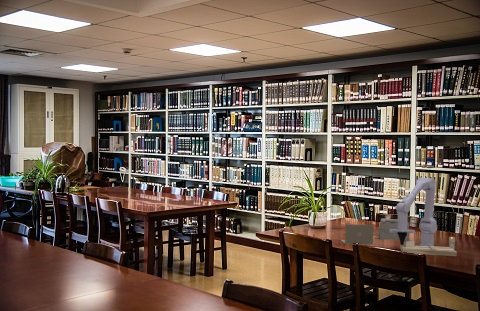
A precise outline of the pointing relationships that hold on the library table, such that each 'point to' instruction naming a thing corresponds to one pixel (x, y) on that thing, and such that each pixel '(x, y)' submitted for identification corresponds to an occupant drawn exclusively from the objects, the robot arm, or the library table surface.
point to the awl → (451, 242)
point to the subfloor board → (429, 250)
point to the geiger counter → (385, 229)
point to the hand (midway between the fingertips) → (401, 244)
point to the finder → (409, 243)
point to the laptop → (358, 234)
